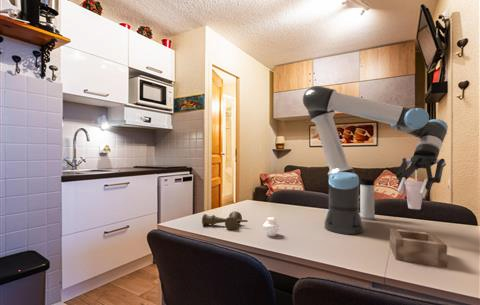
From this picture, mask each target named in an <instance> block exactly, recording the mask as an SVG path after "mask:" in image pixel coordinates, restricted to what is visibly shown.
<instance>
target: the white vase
mask: <svg viewBox="0 0 480 305" xmlns="http://www.w3.org/2000/svg"><path fill="white" fill-rule="evenodd" d="M262 226H263V230H264V232H265V234H266V236H268V237H275V236H276V235H277V233H278V231H279V228H280V224H279V223H278V222H277V219H276V218H275V217H272V216H269V217H267V218H266V221H265V222H264V223H263V225H262Z"/></svg>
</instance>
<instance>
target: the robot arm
mask: <svg viewBox="0 0 480 305" xmlns="http://www.w3.org/2000/svg"><path fill="white" fill-rule="evenodd" d="M302 104H303V107H305V109H306V110H307V112H308V115H309V116H308V117H309V118H310V122H312V123H314V124H315V127H316V131H317V134H318V137H319V141H320V143H321V145H322V149H323V150H322V151H323V153H324V157H325V159H326V162H327V163H326V164H327V166H328V168H329V171H328V172H327V176H328V211H327V213H326V216H325V219H324V225H323V226H324V228H325V229H326V231H329V232H332V233H336V234H342V235H343V234H344V235H359V234H363V233H364V232H365V231H364V228H365V227H364V223H363V221H362V220H363V219H362V218H361V217H360V215H361V214H360V210H359V208H360V193H359V192H360V178H359V175H358V174H356V173H355V171H354V168H353V167H352V166H350V165H349V163H348V161H347V158H346V154H345V151H344V148H343V146H342V142H341V139H340V135H339V132H338V130H337V129H338V128H337V126H336V124H335V121H334V116H335V114H336V112H339V113H343V114H347V115H351V116H353V117H354V116H355V117H360V118H362V119H363V118H364V119H367V120H371V121H376V122H380V123H384V124H389V125H390V128H392V129H394V130H396V131H399V132H403V133H405V134H408V135H410V136H413V137H416V138H418V139H419V141H418V142H417V145H416V148H415V150H414V152H413V154H412V155H413V156H412V157H410V158H407V157H403V158H402V163H401V164H400V166H399V167H398V170H397V171H396V173H395V174H394V175H395V177H396V179H397V180H398V181H397V186H398V187H397V189H396V190H397V193H398V195H399V196H402V195H403V193H404V190H406V188H405V184H404V181H408V179H409V177H411V176H412V175H413V174H414V173H415V170H417V171H418V169H425V171H426V178H424V179H423V180H424V181H422V182H423V185H422V188H421V190H420V195H421V197H422V199H425V197H426V195H427V191H430V190H431V189H432V186H433V184H436V183H437V184H440V183H441V182H442V176H443V172H444V171H443V170H444V167H445V166H446V165H447V163H446V161H445V158H440V159H438V158H439V155H440V152H441V149H442V146H443V143H444V140H445V138H446V135H447V133H448V132H447V131H448V128H449V126H448V123H447V122H446V121H444V120H443V119H440V118H439V119H434V118H433V119H430V115H429V113H428V111H427V110H426V109H424V108H421V107H414V108H410V107H404V106H401V105H397V104H396V105H395V104H393V103H386V102H382V101H378V100H373V99H369V98H362V97H358V96H354V95H351V94H350V95H349V94H346V93H340V92H338V91H337V90H336V89H334V88H330V87H325V86H322V85H320V86H319V85H313V86H311V87H309V88H307V90H305V91H304V94H303V96H302ZM434 165H436V168H435V173H434V177H433V173H432V172H433V171H432V166H434Z"/></svg>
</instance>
